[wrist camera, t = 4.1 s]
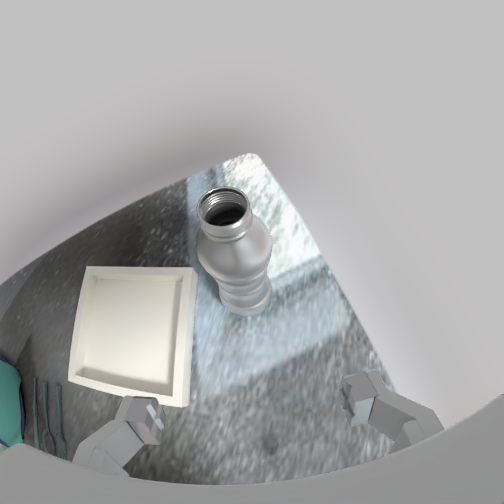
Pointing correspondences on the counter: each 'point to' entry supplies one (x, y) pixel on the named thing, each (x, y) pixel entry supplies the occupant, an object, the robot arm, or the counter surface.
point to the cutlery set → (12, 410)
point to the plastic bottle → (235, 250)
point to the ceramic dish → (135, 332)
